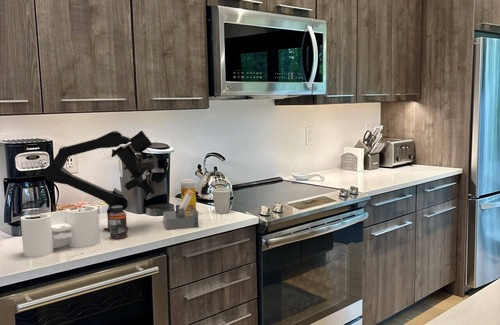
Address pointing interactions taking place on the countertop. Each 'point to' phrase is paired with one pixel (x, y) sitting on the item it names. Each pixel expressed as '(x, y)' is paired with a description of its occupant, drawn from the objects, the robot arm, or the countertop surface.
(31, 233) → the white twin cylinder holder
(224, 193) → the dixie cup
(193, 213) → the grey block with tab
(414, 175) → the countertop surface
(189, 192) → the breaker lever
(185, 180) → the yellow jar
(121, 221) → the supplement bottle
